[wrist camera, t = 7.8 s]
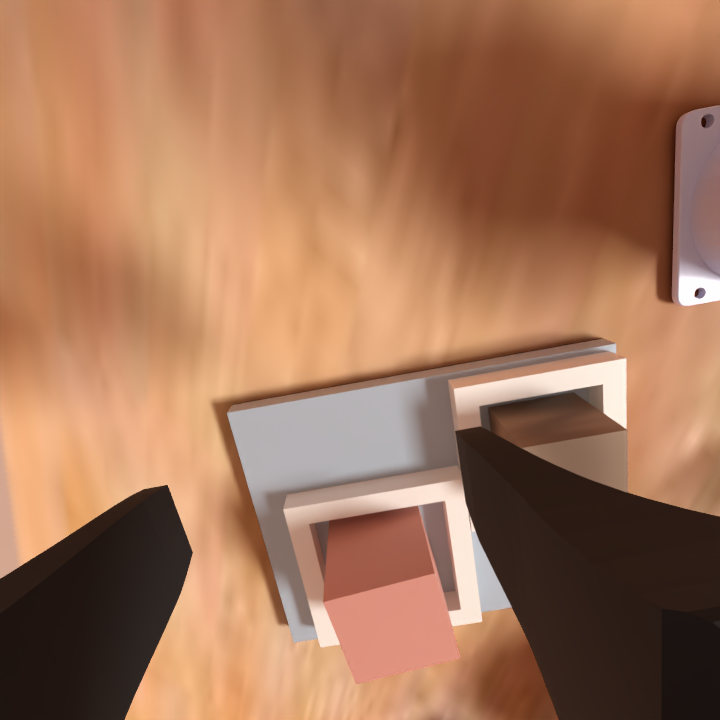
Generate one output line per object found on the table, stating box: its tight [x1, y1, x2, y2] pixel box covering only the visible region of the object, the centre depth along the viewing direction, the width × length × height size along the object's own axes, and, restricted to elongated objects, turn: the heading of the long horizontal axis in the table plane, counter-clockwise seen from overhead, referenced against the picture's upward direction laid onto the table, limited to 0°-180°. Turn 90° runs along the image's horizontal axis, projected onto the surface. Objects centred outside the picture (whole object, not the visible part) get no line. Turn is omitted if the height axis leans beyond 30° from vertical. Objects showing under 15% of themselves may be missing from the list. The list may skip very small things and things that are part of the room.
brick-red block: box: [323, 506, 461, 684], centre depth 19 cm, size 4×4×5 cm
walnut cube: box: [488, 392, 628, 493], centre depth 18 cm, size 4×4×4 cm
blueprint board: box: [227, 339, 626, 647], centre depth 21 cm, size 18×14×2 cm
